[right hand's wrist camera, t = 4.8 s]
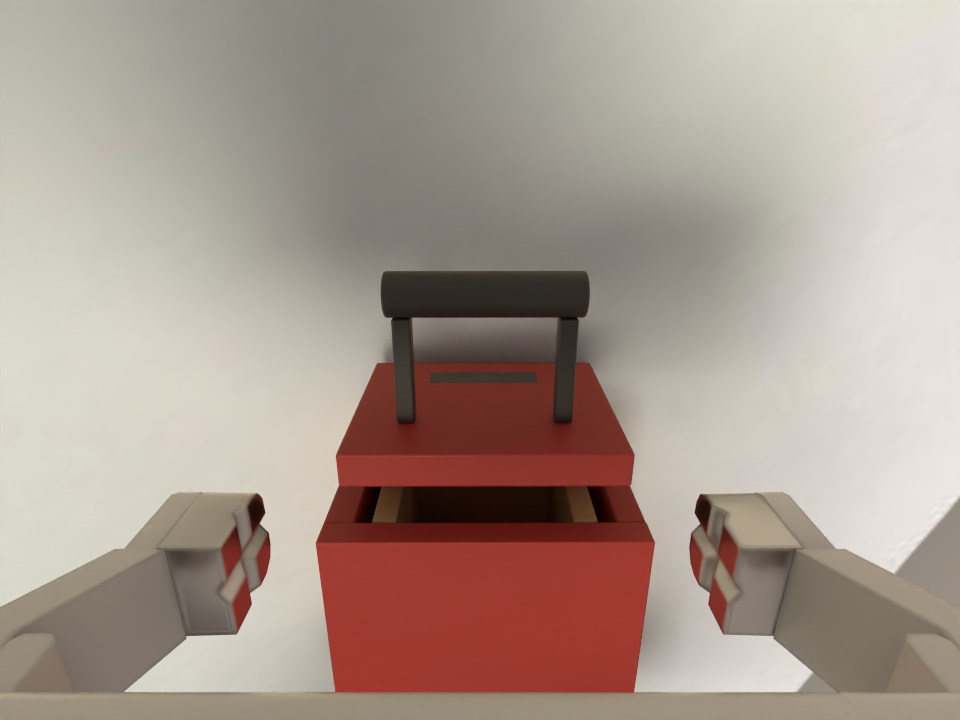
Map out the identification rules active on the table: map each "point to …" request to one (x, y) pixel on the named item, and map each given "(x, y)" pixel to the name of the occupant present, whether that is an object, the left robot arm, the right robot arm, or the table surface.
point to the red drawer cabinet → (485, 600)
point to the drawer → (484, 411)
